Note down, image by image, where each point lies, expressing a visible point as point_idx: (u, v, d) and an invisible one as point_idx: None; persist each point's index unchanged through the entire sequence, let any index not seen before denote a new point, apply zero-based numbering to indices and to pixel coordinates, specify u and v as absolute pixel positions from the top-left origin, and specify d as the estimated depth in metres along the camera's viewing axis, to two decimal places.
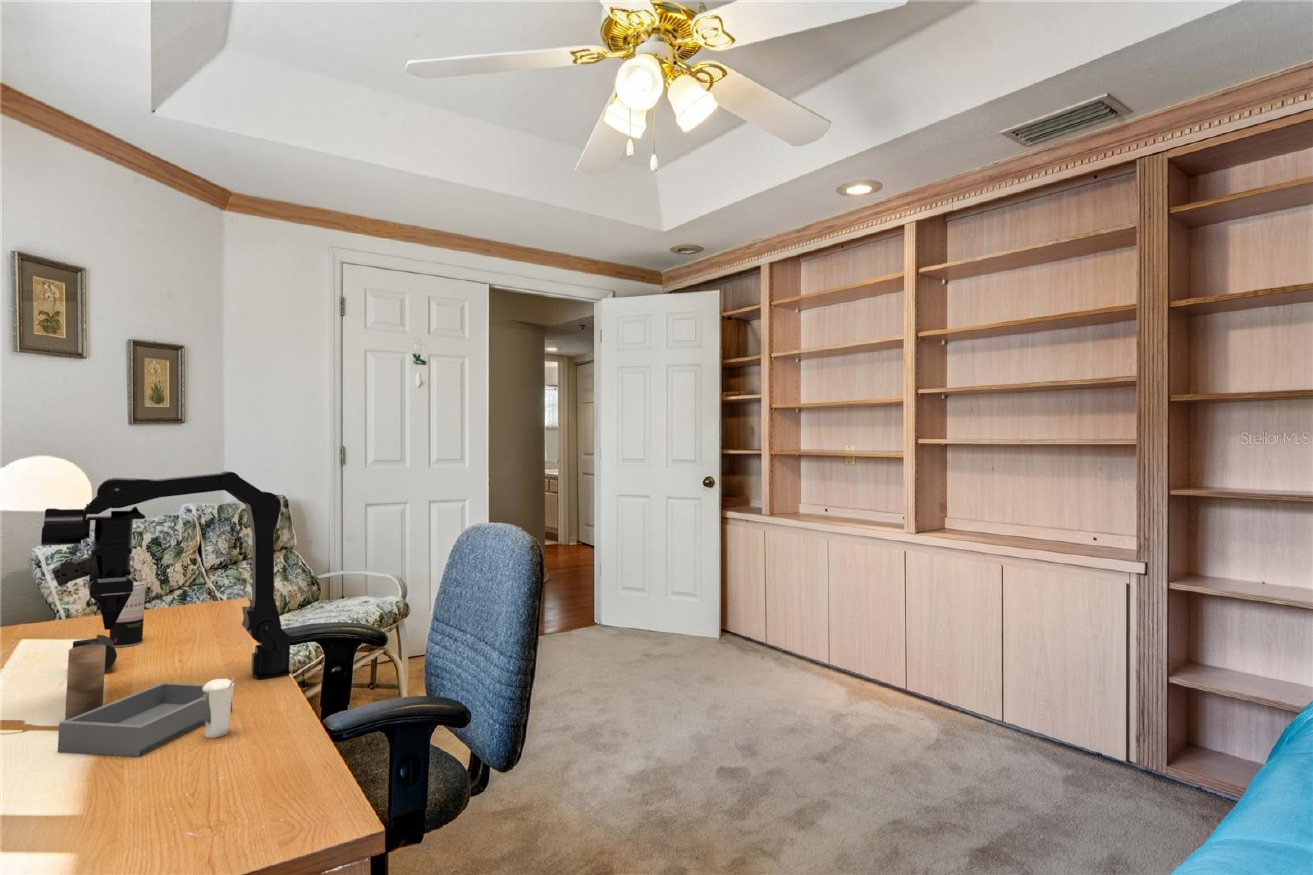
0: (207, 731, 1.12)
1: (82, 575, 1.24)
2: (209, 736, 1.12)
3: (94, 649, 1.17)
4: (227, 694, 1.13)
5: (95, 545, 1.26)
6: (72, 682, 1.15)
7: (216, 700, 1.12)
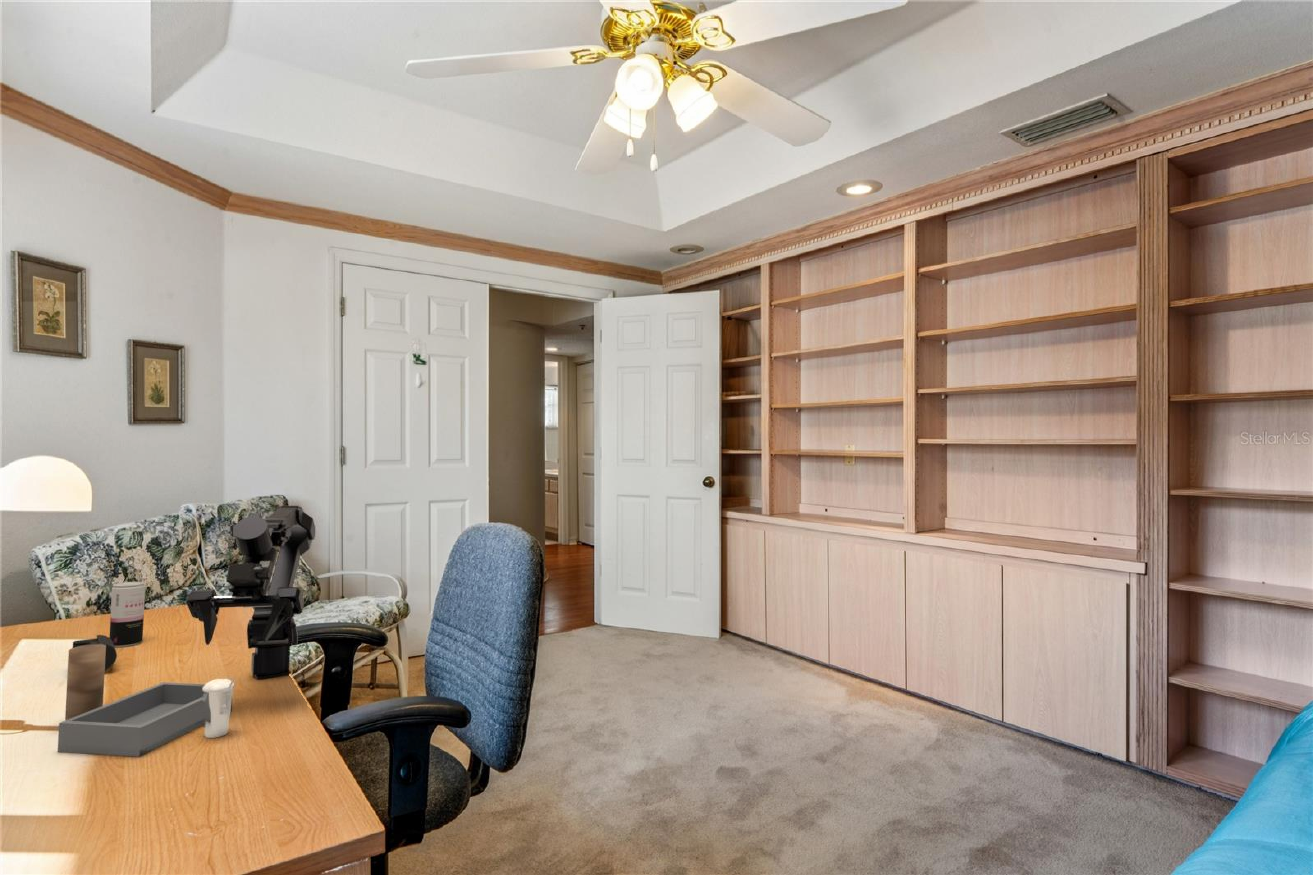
0: (207, 731, 1.12)
1: (259, 582, 1.26)
2: (209, 736, 1.12)
3: (94, 649, 1.17)
4: (227, 694, 1.13)
5: None
6: (72, 682, 1.15)
7: (216, 700, 1.12)
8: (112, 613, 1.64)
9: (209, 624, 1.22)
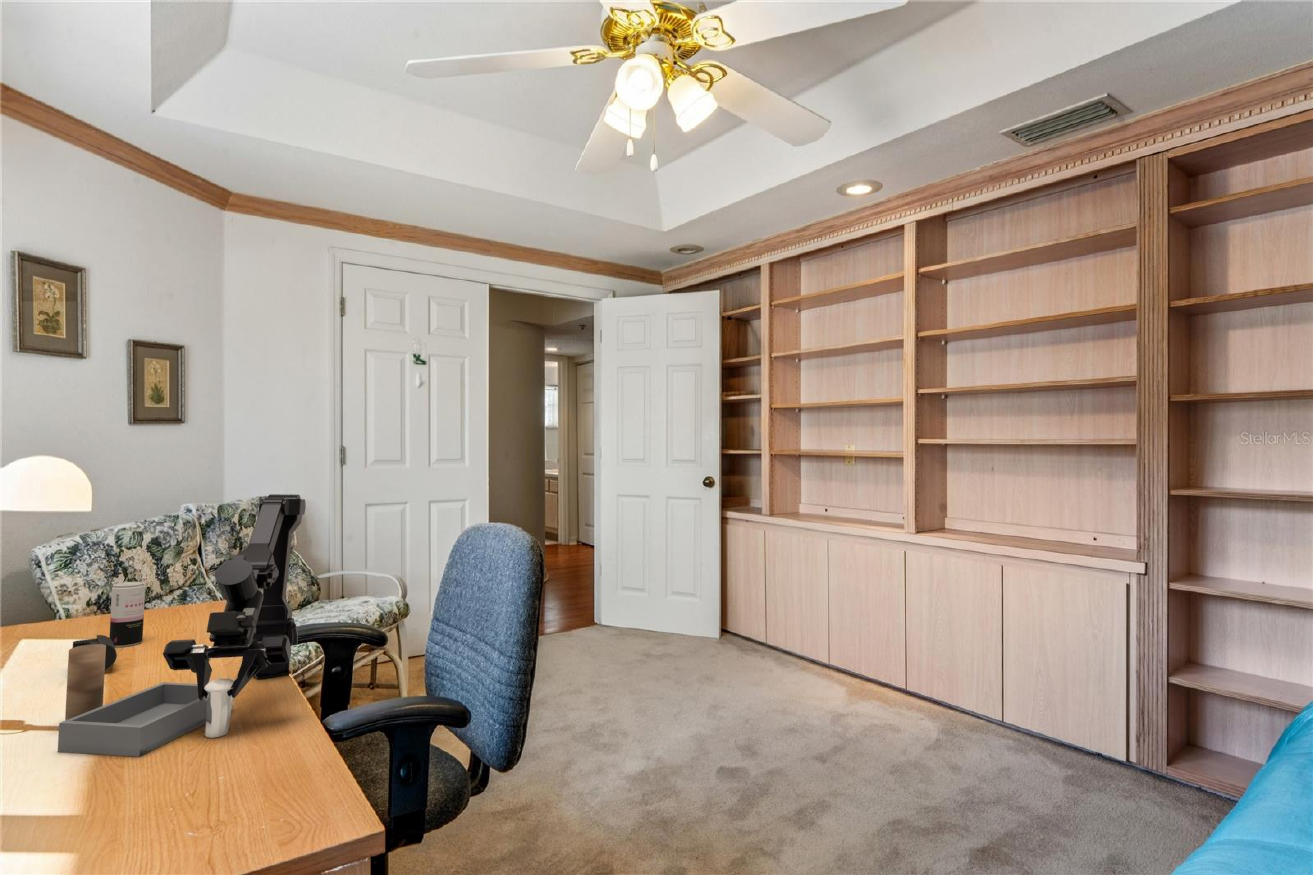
0: (207, 730, 1.12)
1: (243, 630, 1.17)
2: (209, 735, 1.12)
3: (94, 649, 1.17)
4: (229, 694, 1.13)
5: None
6: (72, 682, 1.15)
7: (218, 700, 1.12)
8: (112, 613, 1.64)
9: (203, 677, 1.13)
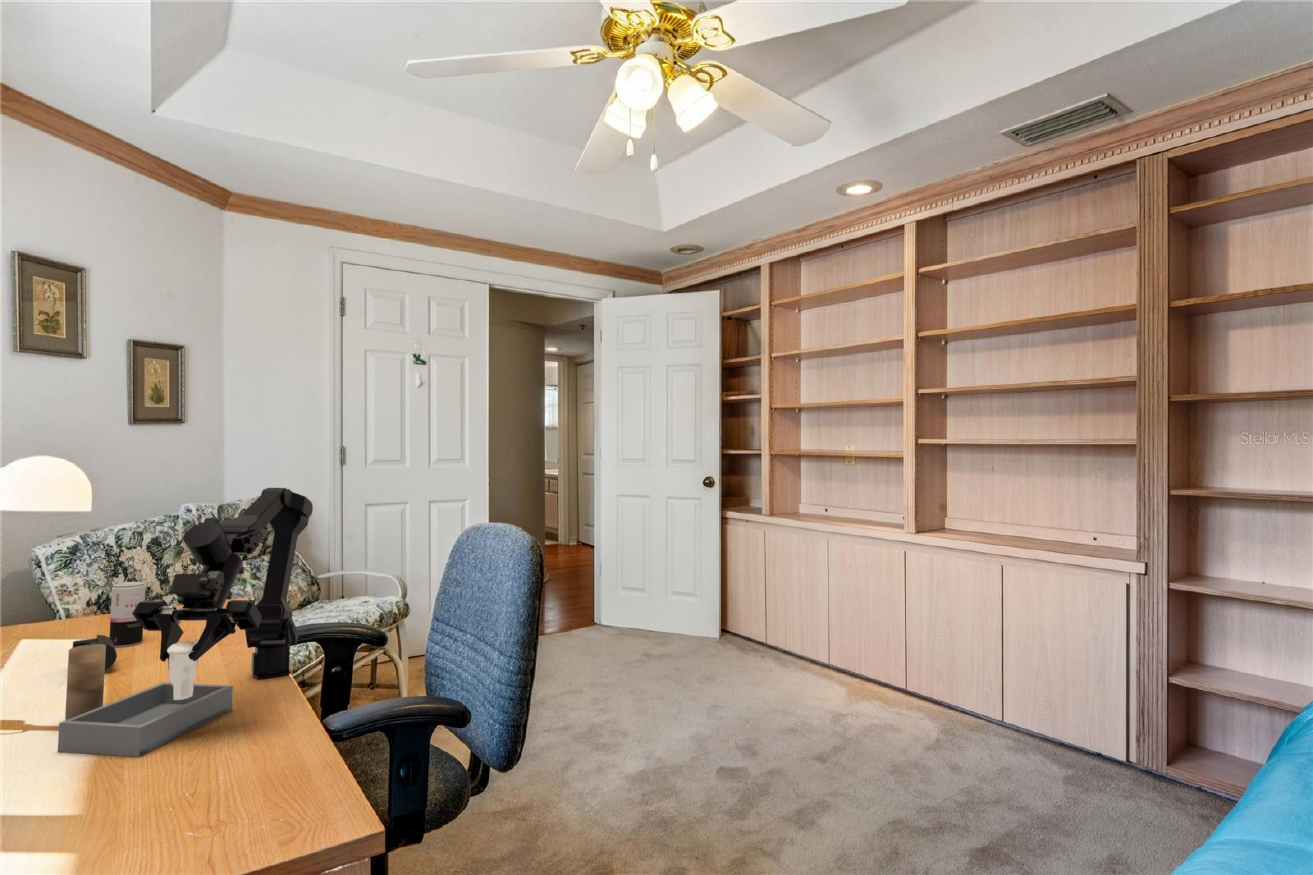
0: (170, 693, 1.11)
1: (209, 593, 1.15)
2: (172, 698, 1.10)
3: (94, 649, 1.17)
4: (190, 657, 1.11)
5: None
6: (72, 682, 1.15)
7: (178, 662, 1.10)
8: (112, 613, 1.64)
9: (167, 639, 1.12)
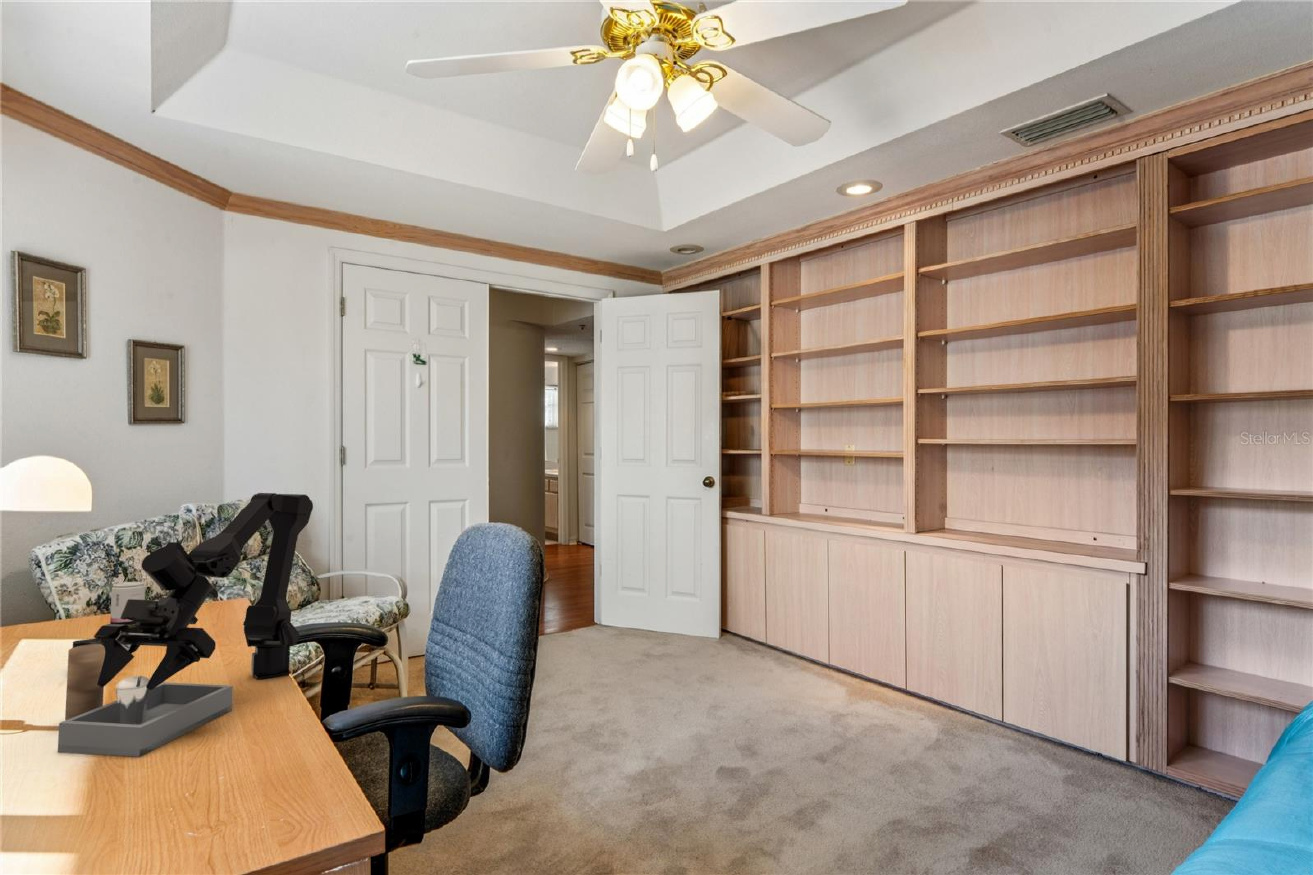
0: None
1: (161, 620, 1.14)
2: None
3: (94, 649, 1.17)
4: (135, 693, 1.09)
5: (178, 598, 1.19)
6: (72, 682, 1.15)
7: (123, 698, 1.09)
8: (112, 613, 1.64)
9: (107, 664, 1.11)
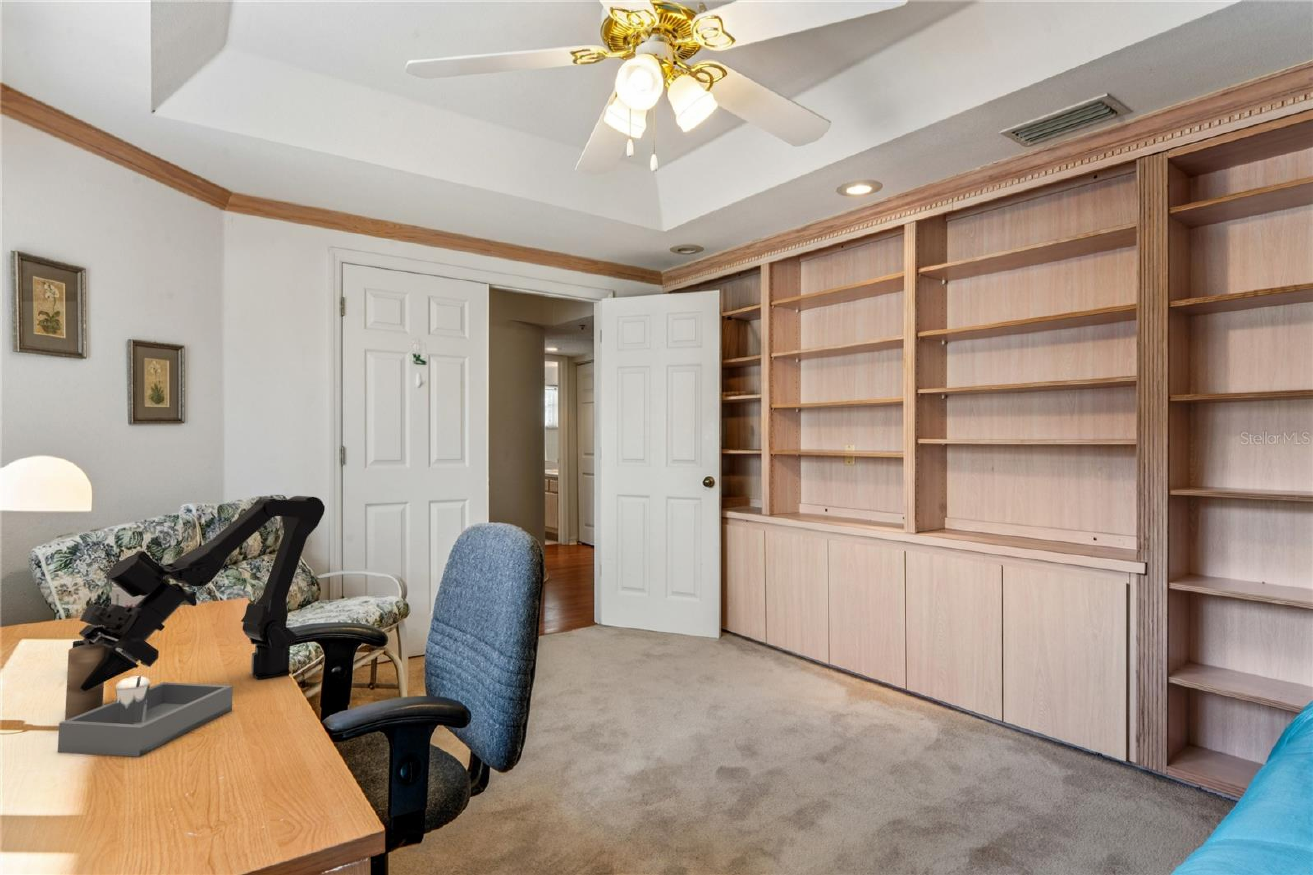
0: None
1: (113, 625, 1.19)
2: None
3: (94, 649, 1.17)
4: (134, 693, 1.09)
5: (143, 605, 1.24)
6: (72, 682, 1.15)
7: (123, 699, 1.09)
8: None
9: None
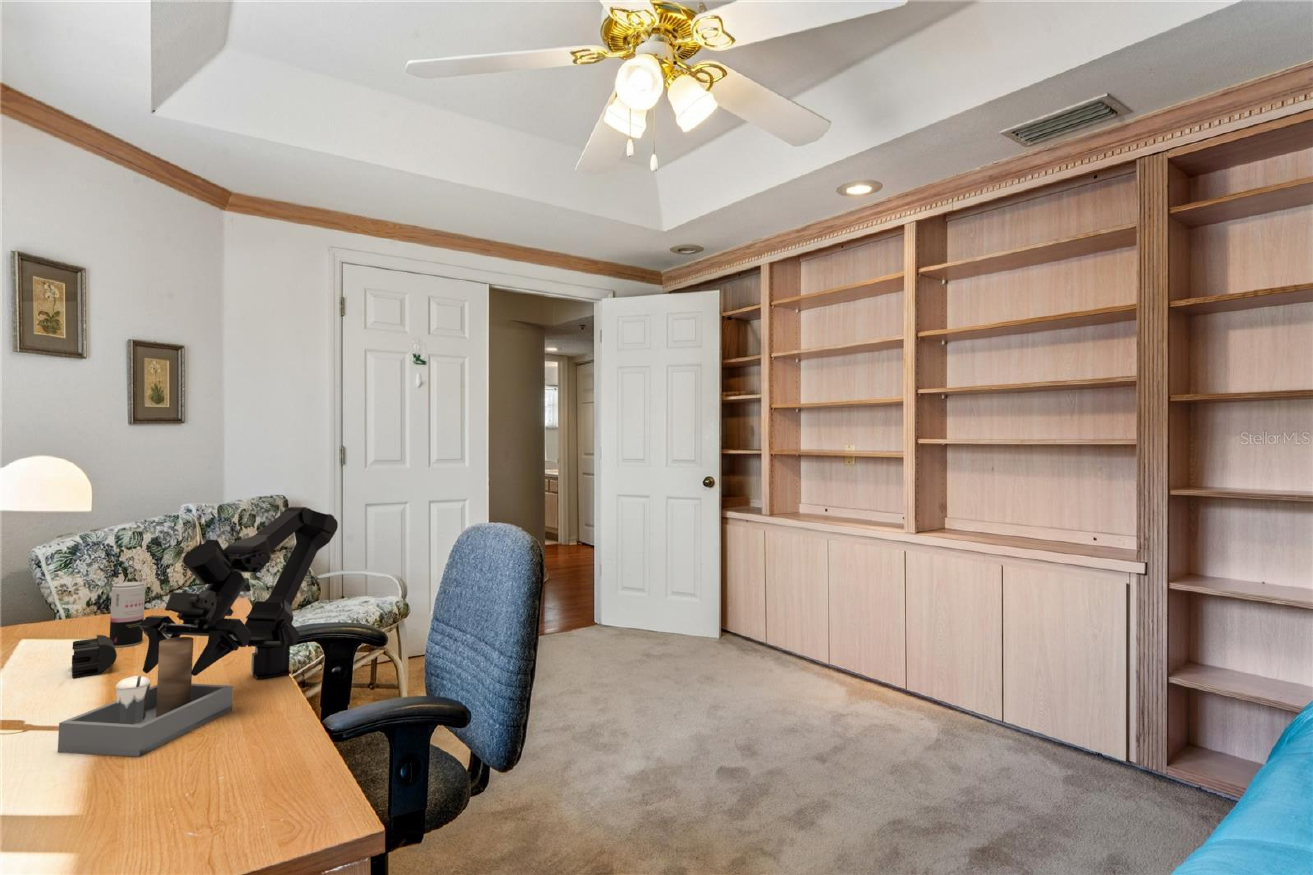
0: None
1: (202, 611, 1.23)
2: None
3: (187, 640, 1.20)
4: (134, 693, 1.09)
5: (216, 592, 1.28)
6: (170, 673, 1.17)
7: (123, 698, 1.09)
8: (112, 613, 1.64)
9: (151, 652, 1.20)
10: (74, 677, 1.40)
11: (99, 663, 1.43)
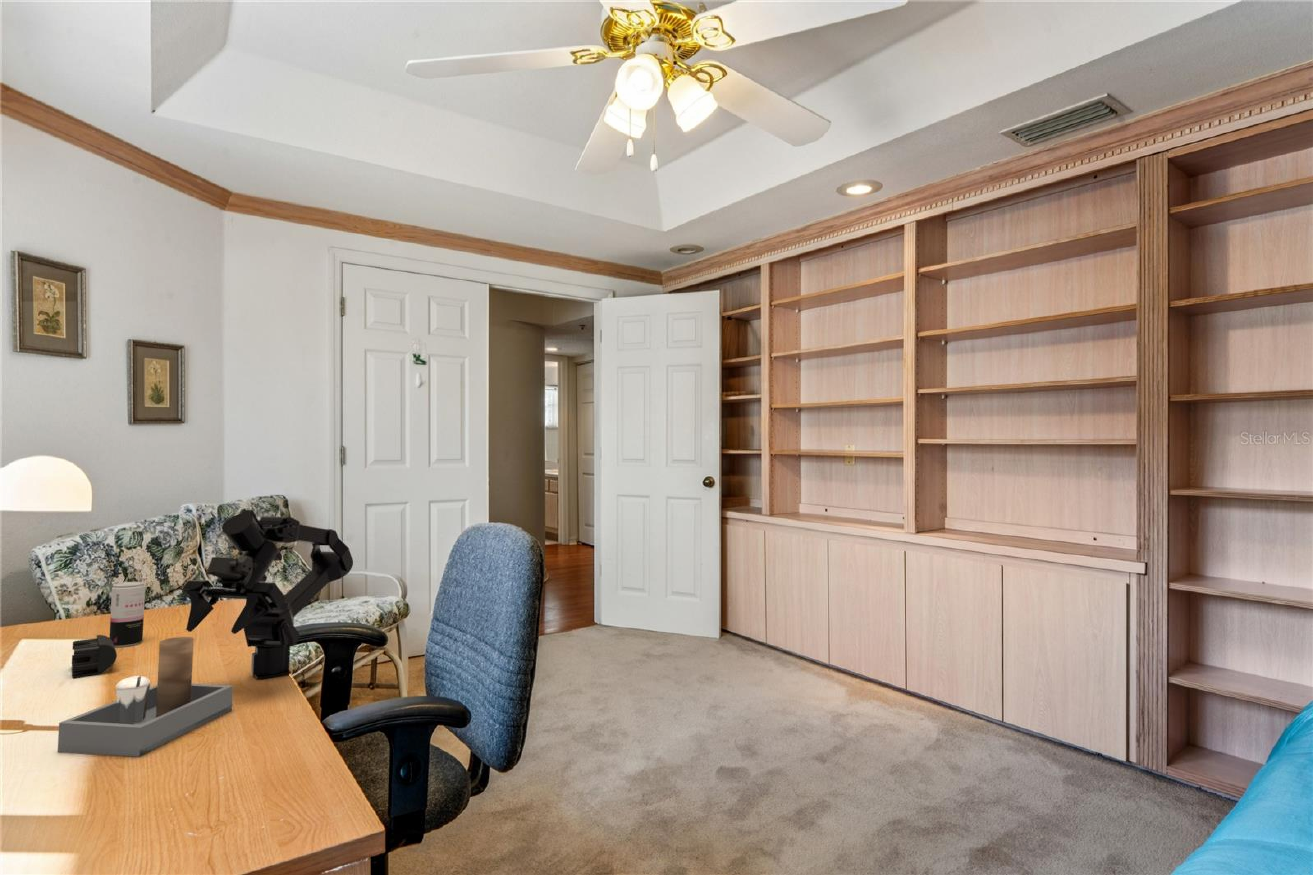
0: None
1: (240, 575, 1.32)
2: None
3: (187, 640, 1.20)
4: (134, 693, 1.09)
5: (252, 558, 1.37)
6: (170, 673, 1.17)
7: (123, 698, 1.09)
8: (112, 613, 1.64)
9: (194, 612, 1.30)
10: (74, 677, 1.40)
11: (99, 663, 1.43)
